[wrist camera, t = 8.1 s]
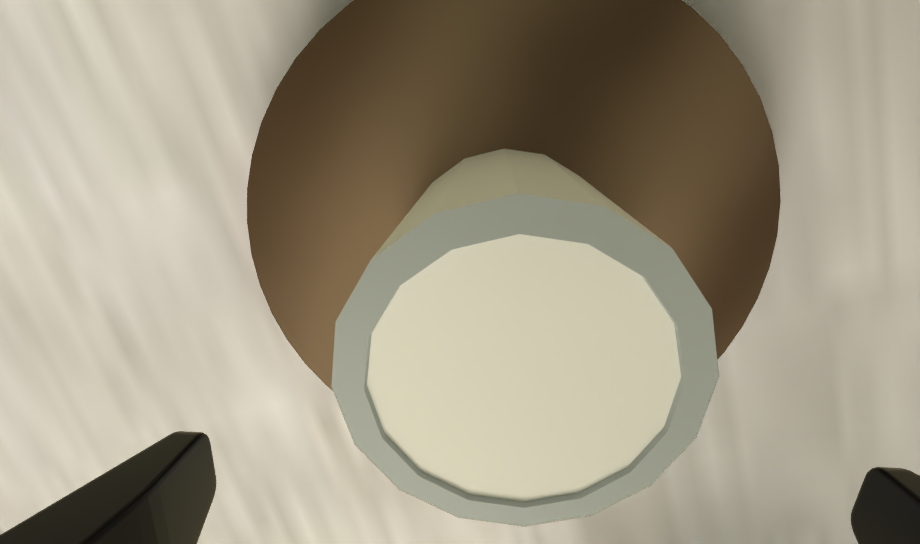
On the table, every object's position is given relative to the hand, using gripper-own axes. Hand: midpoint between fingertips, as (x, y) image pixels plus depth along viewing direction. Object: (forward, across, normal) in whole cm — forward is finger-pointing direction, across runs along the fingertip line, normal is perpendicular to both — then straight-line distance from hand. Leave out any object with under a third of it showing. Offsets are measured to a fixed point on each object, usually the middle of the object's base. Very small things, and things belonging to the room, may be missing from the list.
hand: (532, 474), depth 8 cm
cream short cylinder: (+10, 0, 0) cm, 10 cm away
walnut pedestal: (+12, 0, 0) cm, 12 cm away
